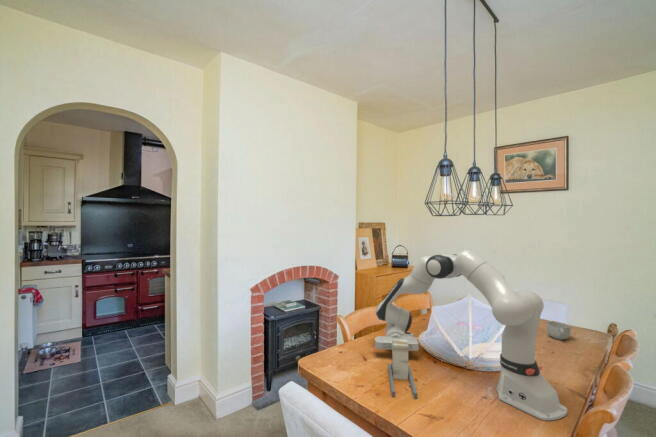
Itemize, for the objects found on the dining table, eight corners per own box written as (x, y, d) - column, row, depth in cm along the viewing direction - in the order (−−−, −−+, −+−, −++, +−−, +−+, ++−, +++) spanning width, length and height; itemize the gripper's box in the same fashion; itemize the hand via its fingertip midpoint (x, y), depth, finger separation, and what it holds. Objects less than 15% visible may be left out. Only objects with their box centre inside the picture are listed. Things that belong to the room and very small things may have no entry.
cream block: (392, 371, 135) (392, 339, 135) (406, 372, 134) (406, 340, 134) (393, 378, 129) (393, 345, 129) (408, 379, 128) (408, 345, 128)
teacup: (547, 332, 185) (547, 319, 185) (570, 337, 178) (570, 323, 178) (546, 340, 173) (546, 325, 173) (571, 345, 167) (571, 330, 167)
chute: (386, 370, 138) (386, 363, 138) (410, 372, 137) (410, 365, 137) (390, 399, 116) (390, 391, 116) (418, 401, 115) (418, 393, 115)
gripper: (374, 331, 157) (374, 342, 143) (416, 333, 155) (420, 344, 141) (374, 344, 157) (374, 356, 143) (416, 346, 155) (420, 358, 141)
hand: (398, 350), depth 142 cm, fingers closed
